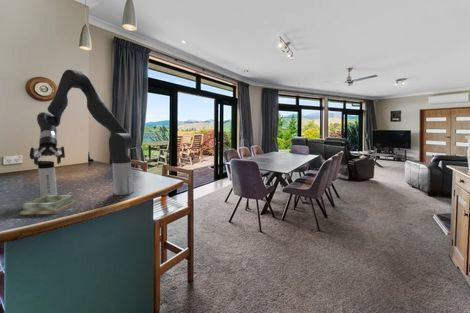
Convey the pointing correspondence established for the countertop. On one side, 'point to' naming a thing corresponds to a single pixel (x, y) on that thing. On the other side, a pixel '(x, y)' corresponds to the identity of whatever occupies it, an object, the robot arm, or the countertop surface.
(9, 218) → the countertop surface
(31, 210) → the green square tray
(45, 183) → the travel mug
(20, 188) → the countertop surface
